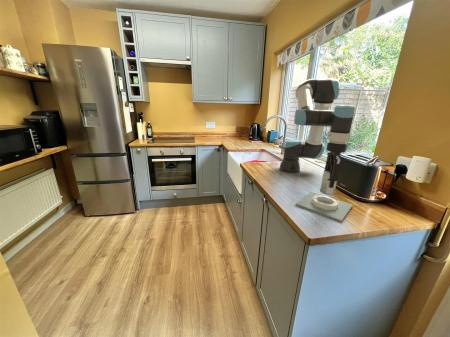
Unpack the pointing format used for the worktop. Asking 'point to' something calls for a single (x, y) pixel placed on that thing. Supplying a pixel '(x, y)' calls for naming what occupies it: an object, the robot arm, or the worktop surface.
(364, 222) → the worktop surface
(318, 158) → the robot arm
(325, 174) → the duct collar
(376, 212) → the worktop surface
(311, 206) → the duct flange
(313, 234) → the worktop surface
